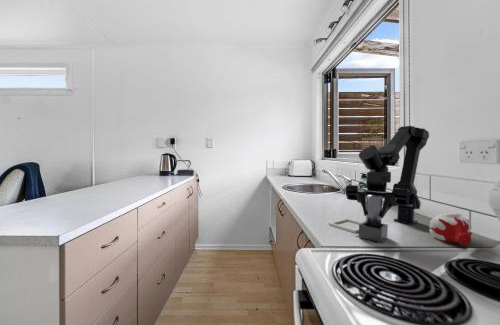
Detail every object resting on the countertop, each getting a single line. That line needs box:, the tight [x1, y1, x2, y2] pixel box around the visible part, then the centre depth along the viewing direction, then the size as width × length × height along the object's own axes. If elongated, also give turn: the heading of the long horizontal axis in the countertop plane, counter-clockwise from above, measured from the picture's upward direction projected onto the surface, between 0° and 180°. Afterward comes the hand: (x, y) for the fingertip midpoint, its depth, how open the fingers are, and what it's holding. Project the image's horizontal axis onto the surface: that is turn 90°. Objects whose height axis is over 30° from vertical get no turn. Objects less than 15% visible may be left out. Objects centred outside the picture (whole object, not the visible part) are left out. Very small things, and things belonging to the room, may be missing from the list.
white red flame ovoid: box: [428, 212, 473, 246], centre depth 76 cm, size 9×11×15 cm
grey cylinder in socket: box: [358, 194, 388, 243], centre depth 77 cm, size 7×7×14 cm
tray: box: [328, 218, 364, 234], centre depth 90 cm, size 11×11×2 cm
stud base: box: [354, 234, 388, 244], centre depth 78 cm, size 7×7×4 cm
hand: (373, 216), depth 76 cm, fingers closed on grey cylinder in socket, 4 cm apart
